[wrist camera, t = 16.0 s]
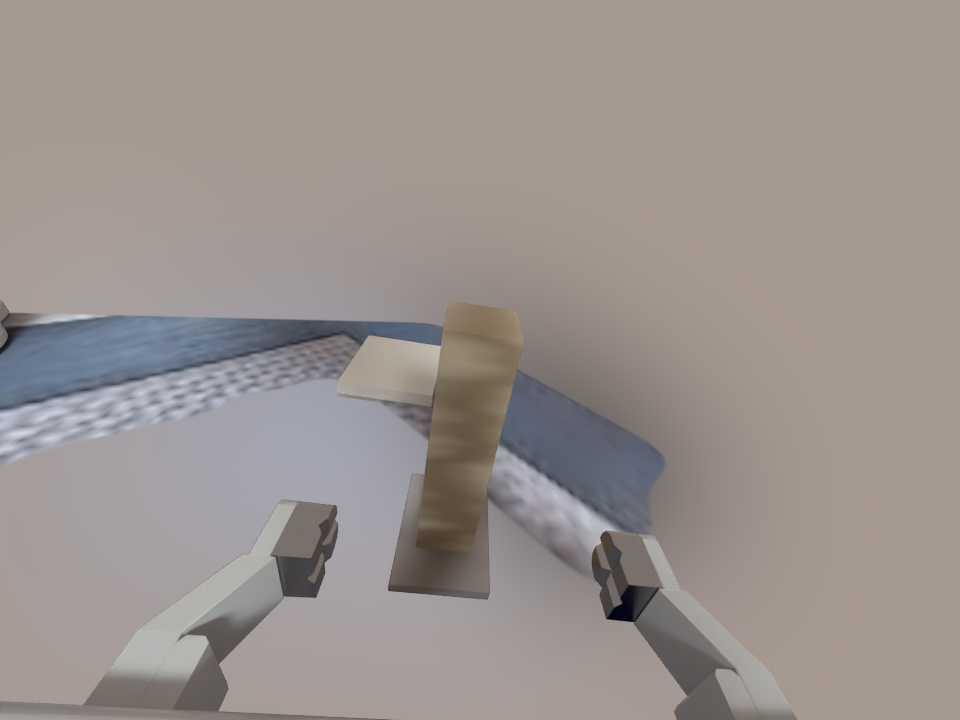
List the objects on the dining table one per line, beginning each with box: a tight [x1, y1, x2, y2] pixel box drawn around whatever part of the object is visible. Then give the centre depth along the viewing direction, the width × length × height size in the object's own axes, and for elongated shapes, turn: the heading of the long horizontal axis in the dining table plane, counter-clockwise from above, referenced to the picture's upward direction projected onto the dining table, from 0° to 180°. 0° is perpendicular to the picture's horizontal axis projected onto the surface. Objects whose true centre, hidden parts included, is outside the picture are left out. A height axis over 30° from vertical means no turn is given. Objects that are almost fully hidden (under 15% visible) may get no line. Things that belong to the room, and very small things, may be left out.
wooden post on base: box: [388, 301, 524, 599], centre depth 18 cm, size 5×7×14 cm
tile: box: [337, 335, 441, 407], centre depth 34 cm, size 8×2×9 cm
